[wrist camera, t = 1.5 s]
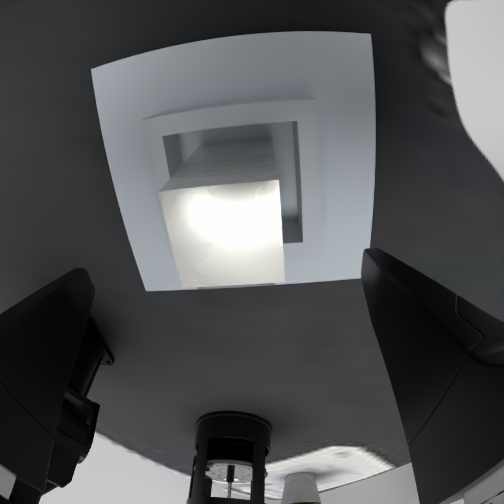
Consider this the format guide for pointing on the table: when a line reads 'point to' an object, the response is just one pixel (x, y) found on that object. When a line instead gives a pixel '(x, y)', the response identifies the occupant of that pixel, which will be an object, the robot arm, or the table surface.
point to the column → (226, 216)
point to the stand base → (248, 128)
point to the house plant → (300, 489)
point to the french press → (230, 456)
